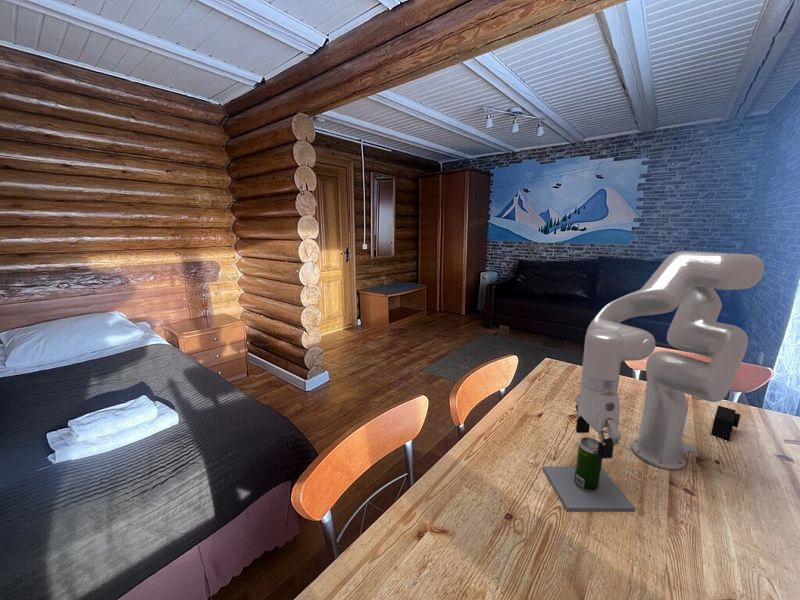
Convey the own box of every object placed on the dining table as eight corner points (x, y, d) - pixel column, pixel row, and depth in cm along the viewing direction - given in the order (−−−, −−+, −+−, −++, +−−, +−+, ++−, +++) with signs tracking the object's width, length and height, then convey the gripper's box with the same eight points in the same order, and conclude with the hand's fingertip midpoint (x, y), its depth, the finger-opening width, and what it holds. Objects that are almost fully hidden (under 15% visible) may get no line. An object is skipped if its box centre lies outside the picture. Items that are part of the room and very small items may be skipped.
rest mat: (600, 469, 92) (600, 466, 91) (635, 511, 78) (635, 508, 78) (542, 469, 92) (542, 466, 91) (566, 511, 78) (567, 507, 78)
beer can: (591, 496, 81) (597, 453, 78) (569, 482, 85) (575, 441, 83) (602, 487, 84) (608, 445, 81) (580, 474, 88) (586, 434, 86)
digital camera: (734, 444, 102) (739, 423, 101) (710, 436, 106) (714, 416, 105) (736, 430, 109) (741, 411, 108) (714, 423, 113) (718, 405, 112)
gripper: (640, 399, 70) (631, 468, 74) (594, 365, 87) (588, 423, 91) (605, 400, 70) (597, 469, 74) (566, 366, 87) (561, 424, 91)
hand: (592, 444), depth 82 cm, fingers open, 9 cm apart
